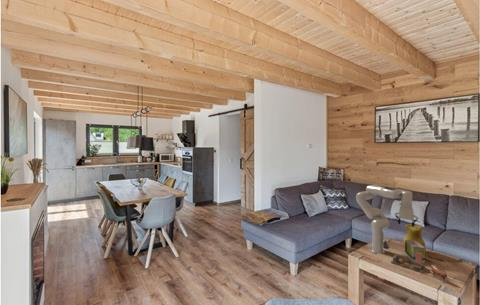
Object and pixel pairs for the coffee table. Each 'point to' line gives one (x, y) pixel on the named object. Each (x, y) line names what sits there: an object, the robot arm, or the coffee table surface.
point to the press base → (406, 264)
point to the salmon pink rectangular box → (418, 261)
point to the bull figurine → (438, 273)
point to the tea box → (414, 250)
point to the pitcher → (414, 234)
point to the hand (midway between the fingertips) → (406, 225)
